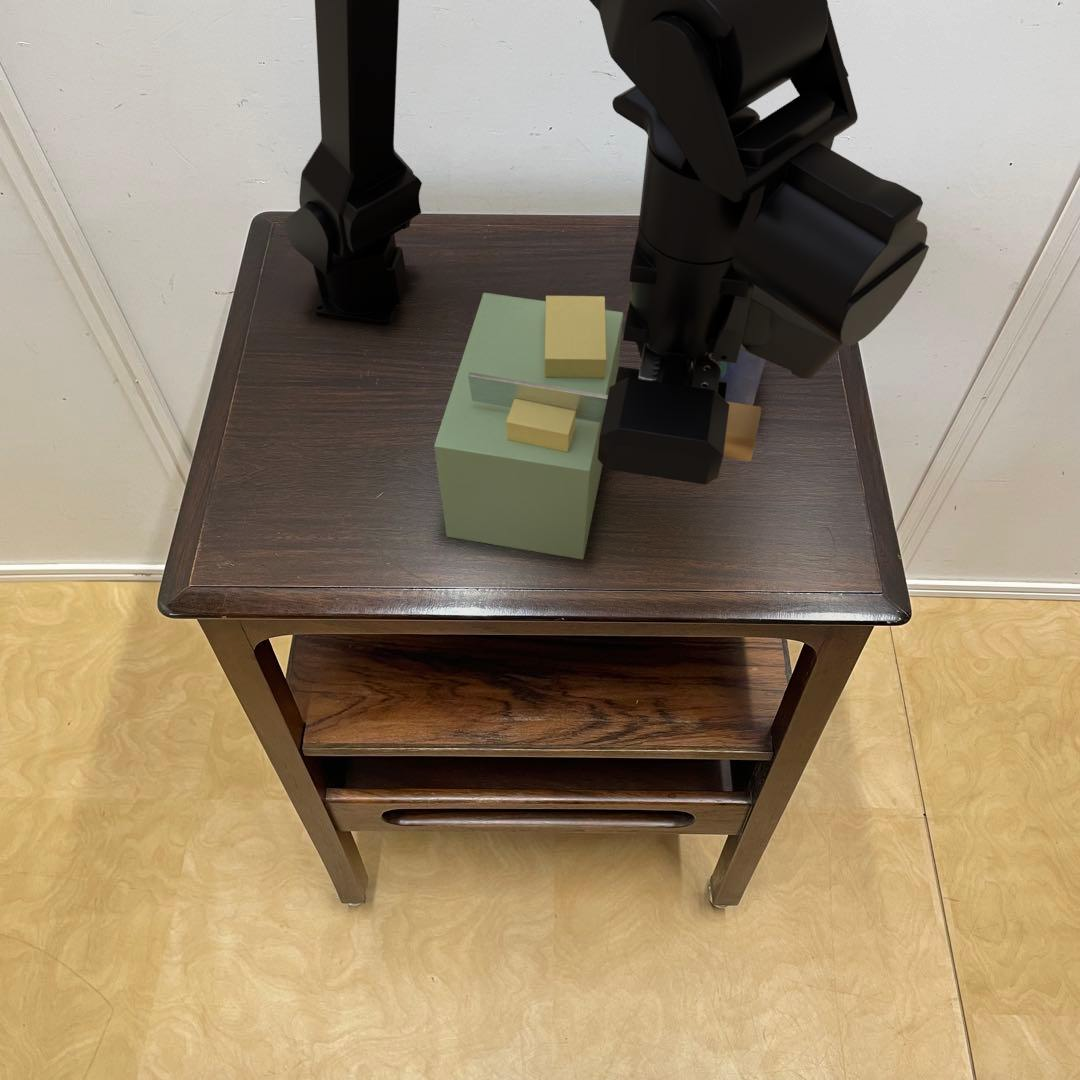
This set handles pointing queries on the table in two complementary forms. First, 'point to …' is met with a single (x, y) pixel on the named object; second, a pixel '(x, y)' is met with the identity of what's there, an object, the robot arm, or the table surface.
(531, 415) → the butter pat
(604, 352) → the butter stick
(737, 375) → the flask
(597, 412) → the knife
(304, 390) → the table surface
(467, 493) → the stand
